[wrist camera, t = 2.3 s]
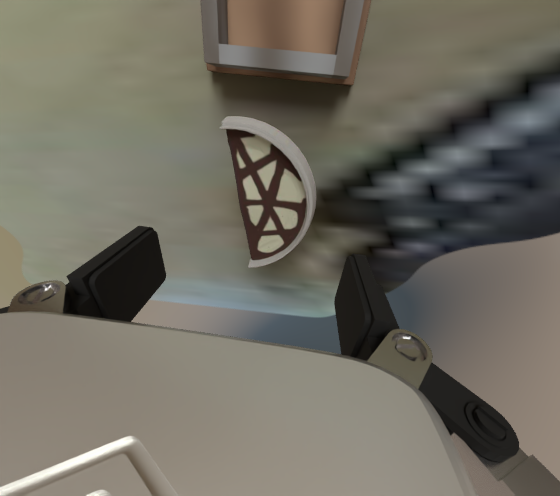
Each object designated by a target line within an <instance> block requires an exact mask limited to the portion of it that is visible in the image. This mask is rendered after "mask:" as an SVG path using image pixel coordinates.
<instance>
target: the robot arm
mask: <svg viewBox="0 0 560 496" xmlns="http://www.w3.org/2000/svg"><path fill="white" fill-rule="evenodd" d="M67 278H68V280H69V283H68V284H66V285H65V284H64V283H63V282H61V281H57V280H56V281H44V282H40V283H37V284H34V285H31V286H29V287H27V288H25V289H23V290H21V291H20V292H18V293H17V294H16V295H15V296H14V297H13V299H12V301H11V304H10V306H8V307H5V308H2V309H0V496H560V481H559V480H557V478H555V476H554V475H553V474H551V472H550V471H549V470H548V469H546V467H545V466H544V465H542V464H541V463H540V462H539V461H538V460H537V459H536V458H535V457H534V456H533V455H531V456H529V457H528V456H527V455H526V454H525V453H524V452H523V451H522V450H521V449H520V448H519V441H518V438H517V436H516V433H515V432H514V430H513V428H512V427H511V425H510V424H509V423H508V422H507V420H506V419H505V418H504V417H503V416H502V415H501V414H500V413H499V412H498V411H496V410H495V409H494V408H493V407H491V406H490V405H489V404H487V403H486V402H485V401H483V400H482V399H480V398H479V397H478V396H477V395H475V394H474V393H472V392H471V391H470V390H468V389H467V388H466V387H464V386H463V385H461V384H460V383H459V382H457V381H456V380H455V379H453V378H452V377H450V376H449V375H448V374H447V373H445V372H444V371H442V370H441V369H440V368H439V367H437V366H436V365H434V364H433V363H432V358H433V356H432V352H431V350H430V348H429V346H428V345H427V344H426V343H425V342H424V340H423V339H421V338H420V337H419V336H417V335H416V334H414V333H412V332H410V331H407V330H403V329H399V326H398V324H397V322H396V319H395V317H394V314H393V312H392V310H391V307H390V305H389V302H388V300H387V298H386V295H385V293H384V290H383V288H382V286H381V285H379V284H376V281H375V279H374V276H373V274H372V271H371V268H370V266H369V263H368V261H367V258H366V256H365V255H359V254H352V255H351V256H348V257H347V259H346V262H345V266H344V269H343V272H342V276H341V279H340V283H339V286H338V289H337V293H336V296H335V312H336V318H337V326H338V333H339V340H340V347H341V354H342V355H341V354H336V353H331V352H326V351H320V350H314V349H308V348H302V347H296V346H290V345H283V344H277V343H270V342H264V341H257V340H251V339H243V338H237V337H231V336H224V335H217V334H210V333H204V332H197V331H190V330H183V329H175V328H169V327H162V326H155V325H148V324H141V323H134V322H131V321H132V320H133V318H134V317H135V316H136V315H137V313H138V312H139V311H140V310H141V309H142V307H143V306H144V305H145V304H146V303H147V301H148V300H149V299H150V298H151V297H152V295H153V294H154V293H155V292H156V290H157V289H158V288H159V287H160V286H161V284H162V283H163V282H164V281H165V278H166V272H165V267H164V263H163V258H162V253H161V249H160V244H159V239H158V235H157V232H156V231H154V229H153V228H151V227H144V226H138V227H136V228H135V229H133V230H132V231H131V232H129V233H128V234H126V235H125V236H123V237H122V238H121V239H119V240H118V241H116V242H115V243H113V244H112V245H111V246H109V247H108V248H106V249H105V250H103V251H102V252H101V253H99V254H98V255H96V256H95V257H93V258H92V259H91V260H89V261H88V262H86V263H85V264H83V265H82V266H81V267H79V268H78V269H76V270H75V271H74V272H72V273H71V274H69V275H68V276H67Z"/></svg>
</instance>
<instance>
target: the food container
mask: <svg viewBox="0 0 560 496" xmlns="http://www.w3.org/2000/svg"><path fill="white" fill-rule="evenodd" d="M219 128H220V129H226V131H227V136H228V143H229V146H230V150H231V155H232V160H233V166H234V172H235V178H236V183H237V190H238V197H239V203H240V209H241V213H242V217H243V221H244V225H245V229H246V234H247V239H248V244H249V249H250V254H251V260H250V263H249V266H248V268H250V267H259V266H264V265H267V264H270V263H273V262H275V261H277V260H279V259H280V258H282V257H284V256H285V255H287V254H288V253H289V252H290V251H292V250H293V249H294V248H295V247H296V246H297V245H298V243H299V242H300V241H301V240H302V238H303V236H304V235H305V233H306V231H307V230H308V228H309V226H310V223H311V221H312V218H313V215H314V211H315V206H316V188H315V182H314V178H313V174H312V171H311V169H310V167H309V164H308V162H307V160H306V158H305V157H304V155H303V154H302V152H301V151H300V149H299V148H298V147H297V146H296V145H295V144H294V143H293V142H292V140H291V139H290V138H288V137H287V136H286V135H285V134H283V133H282V132H281V131H280V130H278V129H276V128H274V127H273V126H271V125H269V124H267V123H265V122H262V121H259V120H256V119H253V118H248V117H241V116H227V117H226V118H225V119H224V120H223V121H222V126H221V127H219Z"/></svg>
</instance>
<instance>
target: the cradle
mask: <svg viewBox="0 0 560 496" xmlns="http://www.w3.org/2000/svg"><path fill="white" fill-rule="evenodd" d="M370 3H371V0H201V15H202V30H203V45H204V60H205V62H206V63H207V70H209V71H212V72H221V73H231V74H241V75H251V76H261V77H270V78H280V79H290V80H300V81H310V82H320V83H329V84H339V85H349V86H352V85H353V83H354V79H355V74H356V69H357V65H358V60H359V55H360V50H361V46H362V41H363V36H364V32H365V27H366V22H367V18H368V13H369V8H370Z"/></svg>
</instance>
